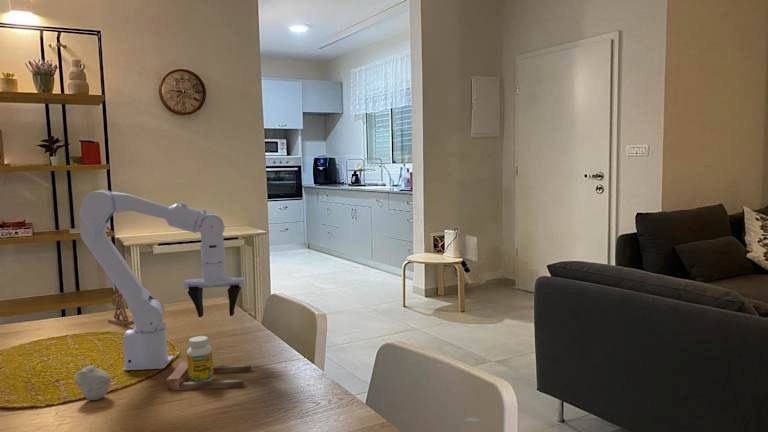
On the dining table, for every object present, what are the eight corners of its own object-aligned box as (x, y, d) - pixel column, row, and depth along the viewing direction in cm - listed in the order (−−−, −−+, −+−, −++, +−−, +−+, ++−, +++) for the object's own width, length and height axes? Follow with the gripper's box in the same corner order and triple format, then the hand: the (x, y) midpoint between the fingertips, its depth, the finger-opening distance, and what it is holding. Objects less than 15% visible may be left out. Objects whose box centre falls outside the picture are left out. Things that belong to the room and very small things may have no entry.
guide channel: (167, 390, 124) (166, 379, 124) (181, 372, 134) (181, 362, 134) (242, 386, 125) (242, 375, 124) (251, 369, 135) (250, 359, 135)
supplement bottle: (210, 374, 133) (207, 333, 132) (216, 381, 128) (214, 339, 127) (186, 379, 130) (183, 337, 129) (191, 386, 126) (189, 343, 125)
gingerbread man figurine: (107, 322, 180) (104, 284, 179) (119, 319, 183) (116, 282, 182) (123, 326, 175) (121, 287, 174) (135, 322, 178) (132, 284, 177)
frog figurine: (86, 393, 123) (84, 361, 123) (118, 393, 123) (116, 361, 122) (70, 405, 117) (67, 372, 117) (104, 405, 117) (101, 371, 116)
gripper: (178, 266, 138) (182, 321, 140) (239, 263, 139) (242, 318, 141) (187, 260, 145) (190, 313, 147) (245, 258, 146) (247, 311, 148)
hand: (216, 315), depth 144 cm, fingers open, 7 cm apart
